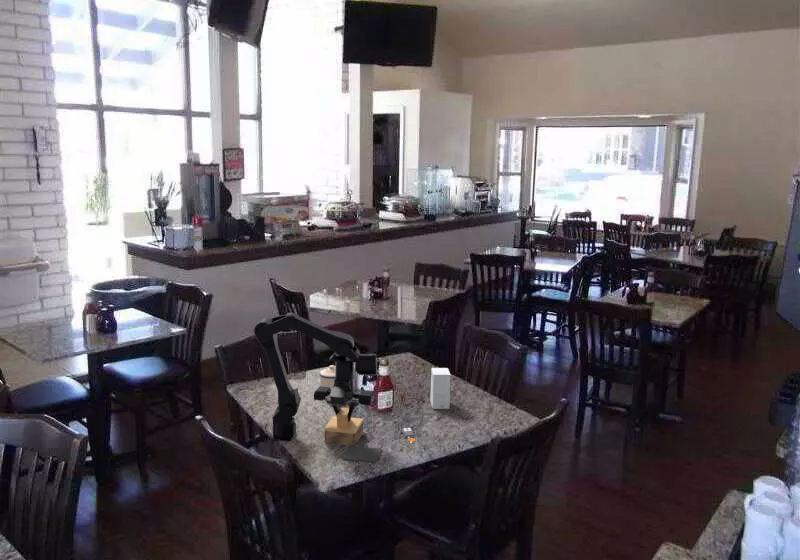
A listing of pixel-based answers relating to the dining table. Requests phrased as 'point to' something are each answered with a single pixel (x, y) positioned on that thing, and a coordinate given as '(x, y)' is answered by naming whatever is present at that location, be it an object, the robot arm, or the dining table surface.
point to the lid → (343, 423)
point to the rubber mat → (362, 454)
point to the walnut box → (343, 437)
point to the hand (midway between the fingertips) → (344, 420)
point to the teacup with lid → (327, 377)
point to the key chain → (408, 434)
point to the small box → (440, 388)
